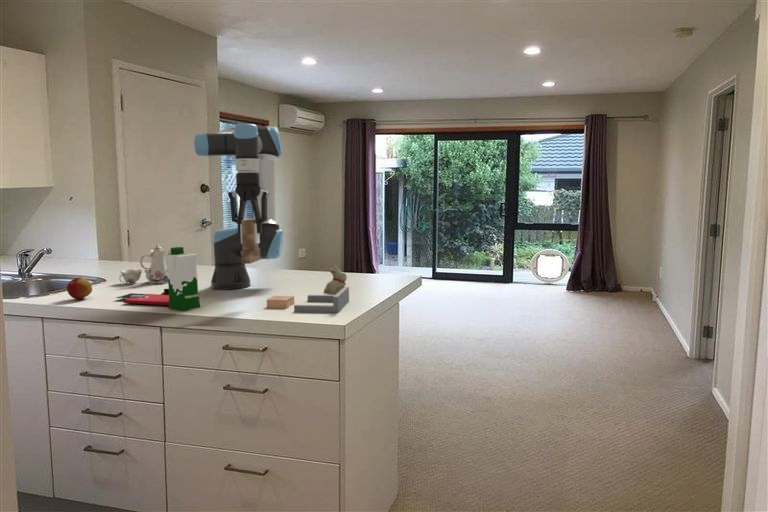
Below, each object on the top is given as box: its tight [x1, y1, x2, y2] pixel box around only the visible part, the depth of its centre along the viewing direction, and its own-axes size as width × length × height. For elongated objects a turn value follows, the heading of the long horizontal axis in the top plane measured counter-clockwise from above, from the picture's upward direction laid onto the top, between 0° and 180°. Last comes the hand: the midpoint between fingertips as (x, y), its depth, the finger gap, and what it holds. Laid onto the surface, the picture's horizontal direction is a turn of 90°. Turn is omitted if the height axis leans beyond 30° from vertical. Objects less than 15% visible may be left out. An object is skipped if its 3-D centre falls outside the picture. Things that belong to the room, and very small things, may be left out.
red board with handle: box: [115, 288, 169, 306], centre depth 212 cm, size 30×3×15 cm
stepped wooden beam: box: [241, 218, 262, 265], centre depth 201 cm, size 4×10×14 cm, turn 172°
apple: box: [66, 276, 93, 301], centre depth 217 cm, size 8×8×8 cm
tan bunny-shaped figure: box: [323, 265, 348, 294], centre depth 226 cm, size 6×8×10 cm
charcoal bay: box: [293, 286, 350, 313], centre depth 200 cm, size 14×18×5 cm
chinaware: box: [118, 243, 171, 285], centre depth 253 cm, size 28×17×17 cm, turn 144°
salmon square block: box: [266, 295, 295, 309], centre depth 202 cm, size 7×7×3 cm
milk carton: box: [165, 246, 201, 312], centre depth 199 cm, size 9×9×20 cm
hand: (250, 243), depth 201 cm, fingers closed on stepped wooden beam, 4 cm apart
